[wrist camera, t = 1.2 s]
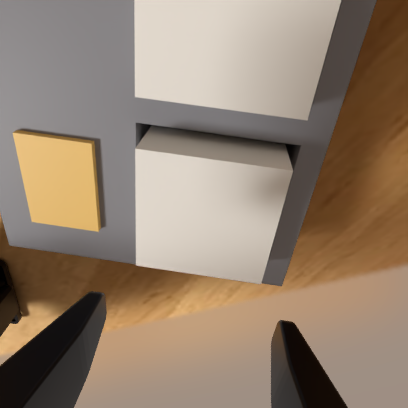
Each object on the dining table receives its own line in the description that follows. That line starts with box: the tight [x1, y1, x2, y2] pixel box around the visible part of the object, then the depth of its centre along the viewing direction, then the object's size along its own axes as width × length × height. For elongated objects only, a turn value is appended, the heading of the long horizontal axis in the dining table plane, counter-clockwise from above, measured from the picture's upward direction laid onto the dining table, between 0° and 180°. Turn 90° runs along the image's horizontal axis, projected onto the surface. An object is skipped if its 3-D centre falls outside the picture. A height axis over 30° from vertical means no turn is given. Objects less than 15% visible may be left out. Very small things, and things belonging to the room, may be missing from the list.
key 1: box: [135, 126, 293, 284], centre depth 14 cm, size 6×6×2 cm
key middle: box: [134, 0, 341, 120], centre depth 10 cm, size 6×6×2 cm
